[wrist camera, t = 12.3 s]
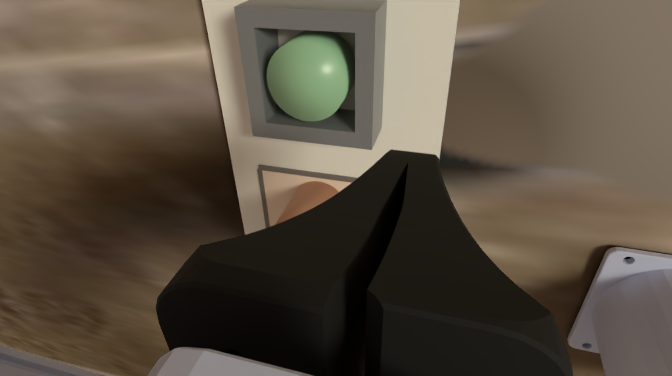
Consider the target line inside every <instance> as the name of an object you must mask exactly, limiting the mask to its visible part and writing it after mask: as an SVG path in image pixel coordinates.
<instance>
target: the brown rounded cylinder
mask: <svg viewBox="0 0 672 376" xmlns="http://www.w3.org/2000/svg"><path fill="white" fill-rule="evenodd" d="M338 192H339V191H337V190H336V189H335V188H334V187H332V186H331V185H329V184H327V183H324V182H319V181H310V182H306V183H304V184H302V185H301V186H300V187H299V188H298V189H297V191H296V192H295V194H294V195H293V197H292V198H291V200H290V202H289V203H288V205H287V206H286V208H285V209H284V211H283V213H282V214H281V216H280V217H279V219H278V220H277V222H276V223H275V225H276V224H279V223H281V222H284V221H286V220H288V219H290V218H293V217H295V216H297V215H299V214H302V213H304V212H306V211H308V210H310V209H312V208H314V207H316V206H317V205H319V204H321V203H323V202H325V201H326V200H328V199H330V198H331V197H333V196H334V195H336V194H337V193H338Z"/></svg>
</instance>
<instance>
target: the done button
mask: <svg viewBox="0 0 672 376" xmlns="http://www.w3.org/2000/svg"><path fill="white" fill-rule="evenodd" d="M267 83H268V88H269V91H270V93H271V95H272V97H273V99H274V100H275V102H276V103H277V105H278V106H279V107H280V108H281V109H282V110H283V111H284V112H286V113H287V114H289V115H290V116H292V117H294V118H296V119H299V120H303V121H311V122H313V121H320V120H323V119H326V118H328V117H330V116H331V115H332V114H334V113H335V112H336V111H337V109H338V108H339V107H340V105H341V104H342V102H343V101H344V99H345V98H346V97H347V95H348V94H349V92H350V91H351V89H352V88H353V86H354V84H355V55H354V53H353V51H352V49H351V47H350V46H349V44H348V43H347V42H346V41H345V40H344V39H343V38H342V37H341V36H339V35H338V34H336V33H334V32H330V31H310V30H305V31H303V32H301V33H299V34H298V35H296V36H295V37H294V38H292V39H291V40H290V41H288V42H287V43H286V44H284V45H283V46H282V47H280V48H279V49H278V50H277V51H276V52H275V53H274V54H273V56H272V57H271V59H270V61H269V64H268V68H267Z"/></svg>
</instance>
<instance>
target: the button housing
mask: <svg viewBox="0 0 672 376" xmlns="http://www.w3.org/2000/svg"><path fill="white" fill-rule="evenodd" d="M234 11H235V18H236V24H237V31H238V38H239V45H240V52H241V59H242V65H243V72H244V79H245V86H246V93H247V99H248V106H249V113H250V120H251V127H252V134H253V136H257V137H265V138H273V139H282V140H290V141H299V142H307V143H316V144H324V145H333V146H341V147H350V148H358V149H367V150H372V149H373V146H374V144H375V142H376V140H377V137H378V135H379V133H380V131H381V128H382V112H383V88H384V63H385V39H386V15H387V0H248V1H246V2H244V3H241V4H239V5H237V6H235V7H234ZM277 29H291V30H310V31H330V32H350V33H355V110H346V109H337V111H336V112H335V113H334V114H332V115H331V116H330V117H328V118H326V119H323V120H320V121H313V122H311V121H303V120H299V119H296V118H294V117H292V116H290V115H289V114H287V113H286V112H284V111H283V110H282V109H281V108H280V107H279V106H278V105H277V103H276V102H275V100H274V99H273V97H272V95H271V93H270V91H269V88H268V83H267V68H268V64H269V61H270V59H271V57H272V56H273V54H274V53H275V52H276V51H277V50H278V49H279V40H278V30H277Z"/></svg>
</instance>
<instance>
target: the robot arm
mask: <svg viewBox="0 0 672 376" xmlns="http://www.w3.org/2000/svg"><path fill="white" fill-rule="evenodd" d="M625 257H631V258H630V259H624V258H625ZM156 311H157V316H158V320H159V324H160V327H161V329H162V332H163V334H164V337H165V340H166V342H167V345H168V347H169V350H170V352H168V353H167V354H165V355H163V356H162V357H160V358H159V360H158V361H157V363H156V364H155V365H154V367H153V368H152V370H151V371H150V372H149V374H148V375H147V376H363V375H364V376H573V371H572V367H571V363H570V359H569V356H568V353H567V350H566V347H565V344H564V341H563V338H562V336H561V333H560V330H559V328H558V325H557V323H556V321H555V318H554V316H553V314H552V313H551V312H550V311H549V310H547V309H546V308H545V307H544V306H542V305H541V304H540V303H539V302H537V301H536V300H535V299H533V298H532V297H531V296H530V295H528V294H527V293H526V292H524V291H523V290H522V289H521V288H519V287H518V286H517V285H516V284H515V283H514V282H513V281H512V280H511V279H509V278H508V277H507V276H506V275H505V274H504V273H503V272H502V271H501V270H500V269H499V268H498V267H497V266H496V265H495V264H494V263H493V262H492V260H491V259H490V258H489V257H488V256H487V255H486V254H485V253H484V252H483V250H482V249H481V248H480V246H479V245H478V244H477V242H476V241H475V240H474V238H473V237H472V236H471V234H470V233H469V231H468V230H467V228H466V227H465V225H464V223H463V222H462V220H461V218H460V217H459V215H458V213H457V211H456V209H455V207H454V205H453V203H452V201H451V199H450V197H449V194H448V192H447V189H446V187H445V184H444V181H443V178H442V175H441V171H440V166H439V158H438V157H437V156H436V155H435V154H426V153H418V152H409V151H401V150H392V149H391V150H389V151H388V152H387V153H386V154H385V155H383V156H382V157H381V158H380V159H379V160H378V161H377V162H376V163H375V164H374V165H373V166H371V167H370V168H369V169H368V170H367V171H366V172H364V173H363V174H362V175H361V176H360V177H358V178H357V179H356V180H355V181H353V182H352V183H351V184H350V185H348V186H347V187H345V188H344V189H343V190H341V191H340V192H338V193H337V194H336V195H334V196H333V197H331V198H330V199H328V200H326V201H325V202H323V203H321V204H319V205H317V206H316V207H314V208H312V209H310V210H308V211H306V212H304V213H302V214H299V215H297V216H295V217H293V218H290V219H288V220H286V221H284V222H281V223H279V224H276V225H273V226H271V227H268V228H265V229H262V230H259V231H256V232H253V233H250V234H246V235H243V236H239V237H235V238H231V239H227V240H222V241H218V242H214V243H210V244H205V245H200V246H199V248H198V249H197V250H196V251H195V252H194V253H193V254H192V255H191V256H190V257H189V259H188V260H187V261H186V262H185V263H184V265H183V266H182V267H181V268H180V270H179V271H178V272H177V273H176V275H175V276H174V277H173V278H172V280H171V281H170V282H169V283H168V285H167V286H166V287H165V289H164V290H163V291H162V292H161V294H160V295H159V296H158V298H157V304H156ZM568 344H569V346H571V347H572V348H575V349H580V350H585V351H589V352H594V353H599V354H600V357H601V361H602V365H603V369H604V372H605V376H672V255H668V254H661V253H655V252H648V251H642V250H635V249H629V248H622V247H613V248H610V249H608V250H607V251H606V253H605V255H604V257H603V259H602V261H601V264H600V266H599V268H598V270H597V273H596V275H595V277H594V279H593V282H592V284H591V286H590V288H589V291H588V293H587V295H586V297H585V300H584V302H583V304H582V306H581V309H580V311H579V313H578V315H577V318H576V320H575V322H574V324H573V327H572V329H571V331H570V333H569V336H568ZM364 370H365V373H364ZM0 376H104V375H101V374H97V373H94V372H91V371H87V370H84V369H80V368H77V367H74V366H70V365H67V364H63V363H60V362H57V361H53V360H50V359H46V358H43V357H40V356H36V355H33V354H29V353H26V352H22V351H19V350H16V349H12V348H9V347H5V346H2V345H0Z"/></svg>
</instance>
